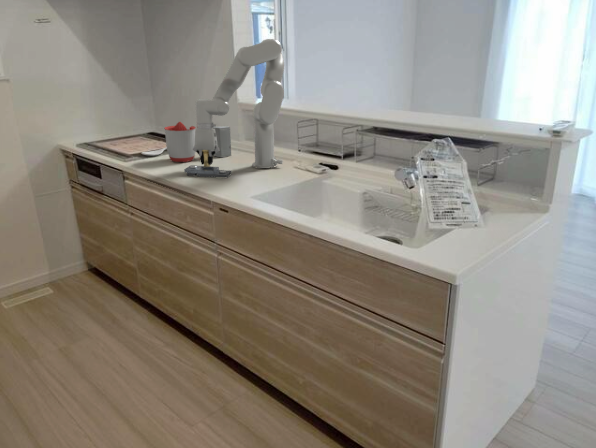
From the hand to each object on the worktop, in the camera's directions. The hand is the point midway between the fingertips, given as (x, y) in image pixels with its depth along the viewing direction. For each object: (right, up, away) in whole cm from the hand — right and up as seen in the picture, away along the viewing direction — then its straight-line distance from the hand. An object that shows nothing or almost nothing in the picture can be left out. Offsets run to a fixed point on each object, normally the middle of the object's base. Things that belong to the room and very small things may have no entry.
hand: (206, 163), depth 237 cm
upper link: (-1, -6, -8) cm, 10 cm away
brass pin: (0, -3, +1) cm, 3 cm away
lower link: (+5, -6, -9) cm, 13 cm away
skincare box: (+3, +8, +30) cm, 31 cm away
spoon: (-28, +10, +36) cm, 47 cm away
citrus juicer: (-16, +4, +20) cm, 26 cm away
